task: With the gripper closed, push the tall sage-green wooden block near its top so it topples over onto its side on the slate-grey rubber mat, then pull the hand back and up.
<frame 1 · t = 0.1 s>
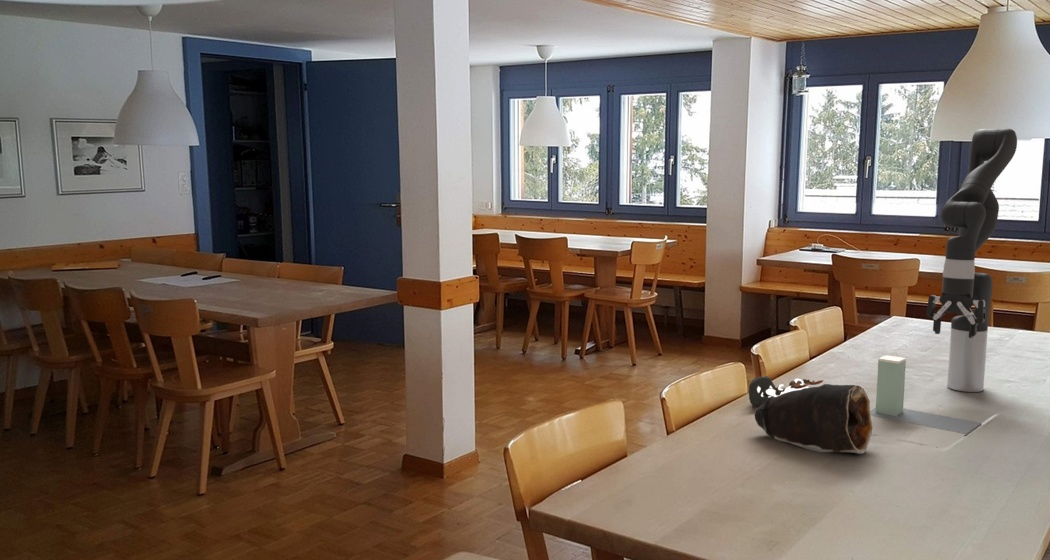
hand: (954, 335, 234), 17 cm above the table, tool pointing down, fingers open, 8 cm apart
figurine: (782, 410, 225), on the table
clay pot: (807, 444, 198), on the table
sage block: (889, 412, 220), point 1 cm above the table, touching slate mat
slate mat: (921, 420, 215), on the table
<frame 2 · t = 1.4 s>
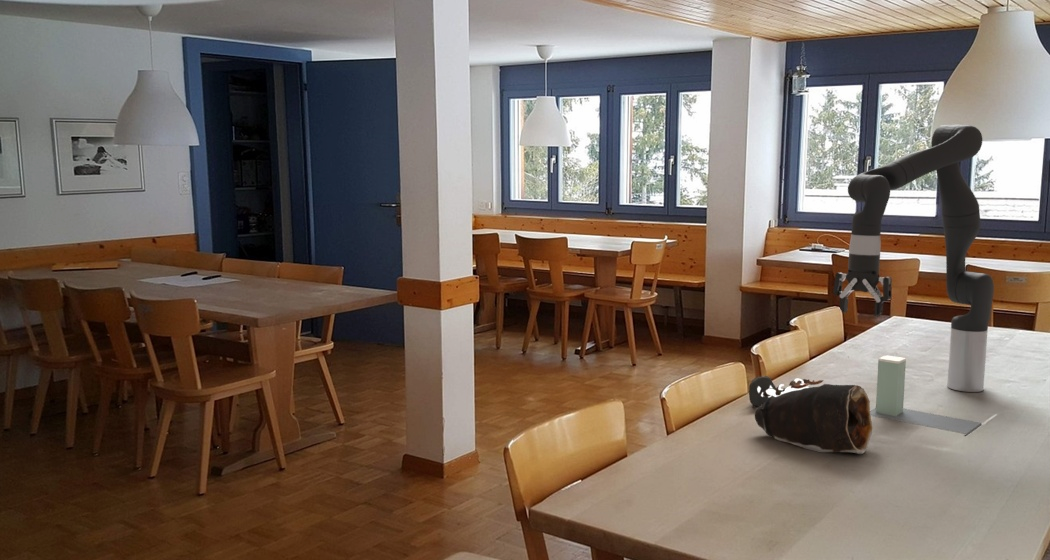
hand: (860, 314, 226), 24 cm above the table, tool pointing down, fingers open, 8 cm apart
nothing on the table moved.
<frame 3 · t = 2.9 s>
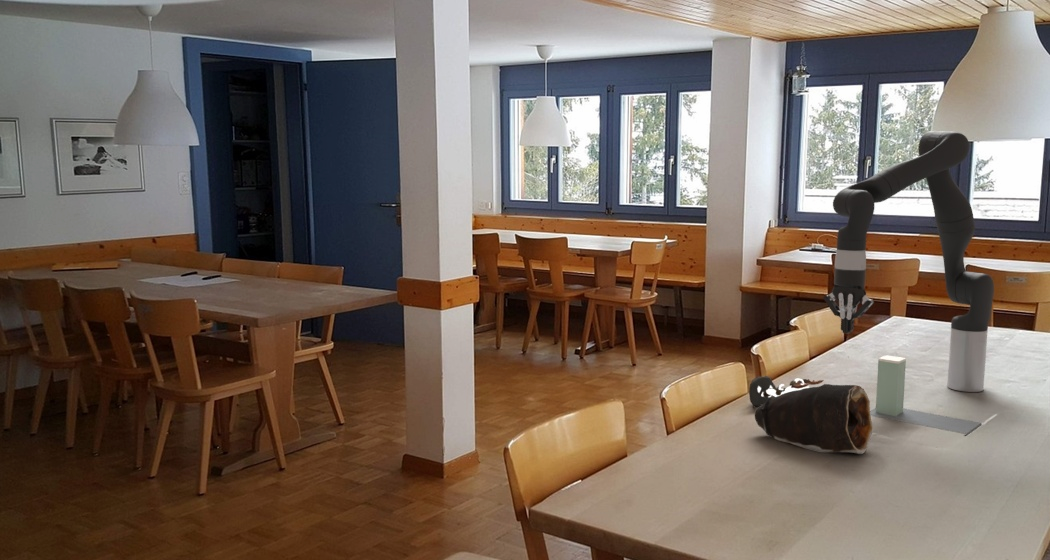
hand: (846, 332, 226), 20 cm above the table, tool pointing down, fingers closed
nothing on the table moved.
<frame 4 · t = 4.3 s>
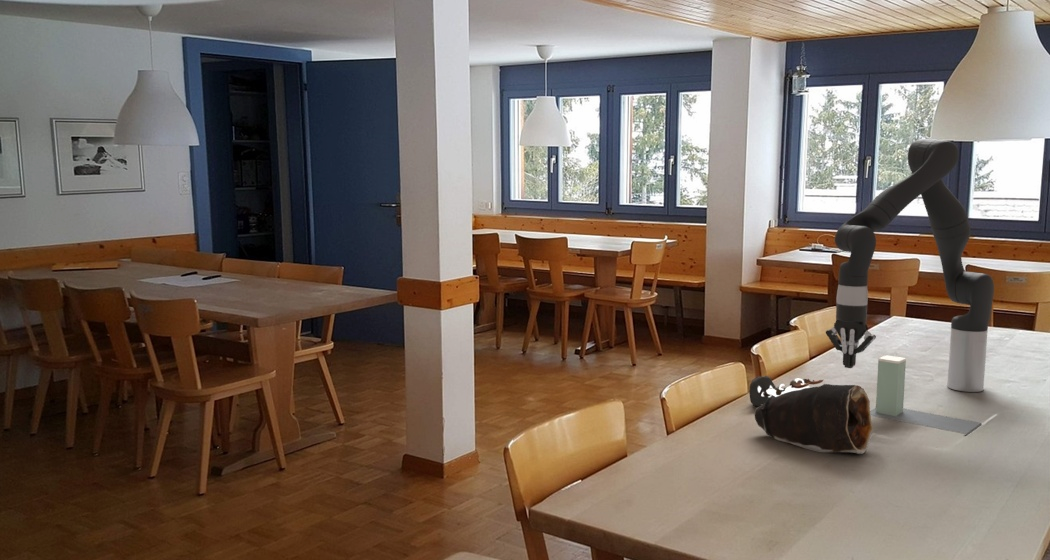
hand: (848, 367, 227), 10 cm above the table, tool pointing down, fingers closed
nothing on the table moved.
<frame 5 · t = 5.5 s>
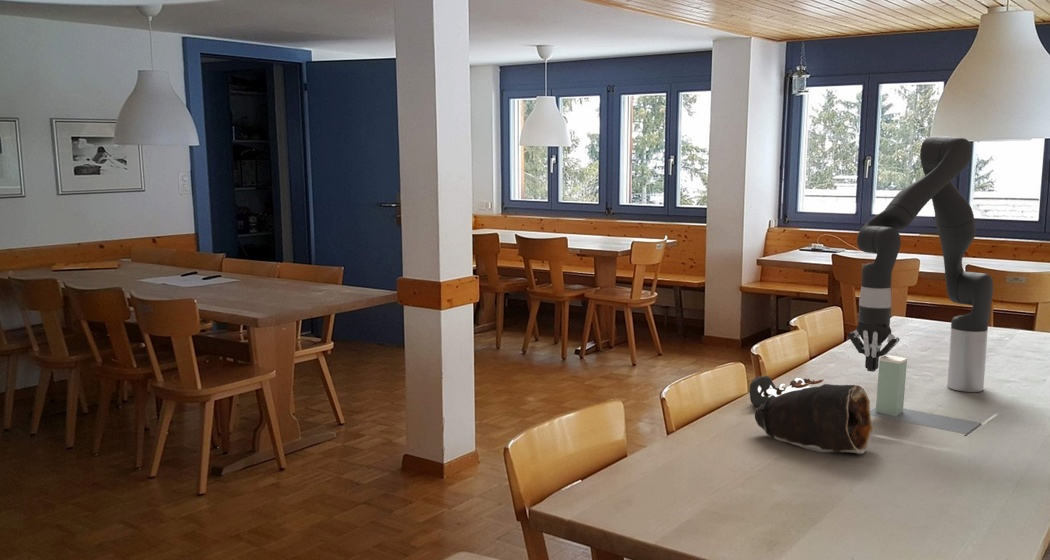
hand: (871, 370, 223), 11 cm above the table, tool pointing down, fingers closed
sage block: (889, 411, 220), point 1 cm above the table, touching gripper, slate mat
everything else where it was.
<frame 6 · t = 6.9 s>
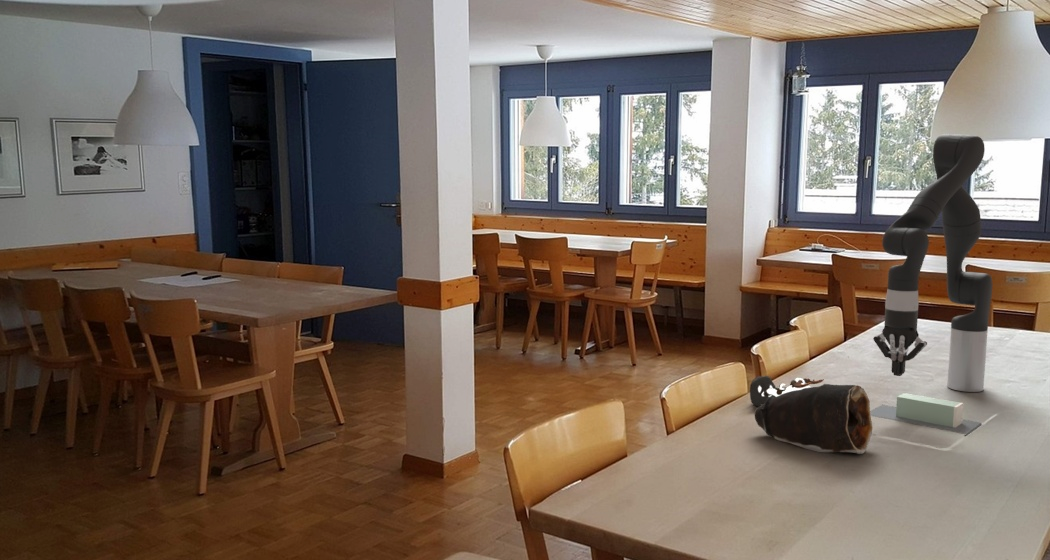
hand: (897, 375, 218), 10 cm above the table, tool pointing down, fingers closed
sage block: (900, 404, 218), point 3 cm above the table, tilted 90°, touching slate mat
everything else where it was.
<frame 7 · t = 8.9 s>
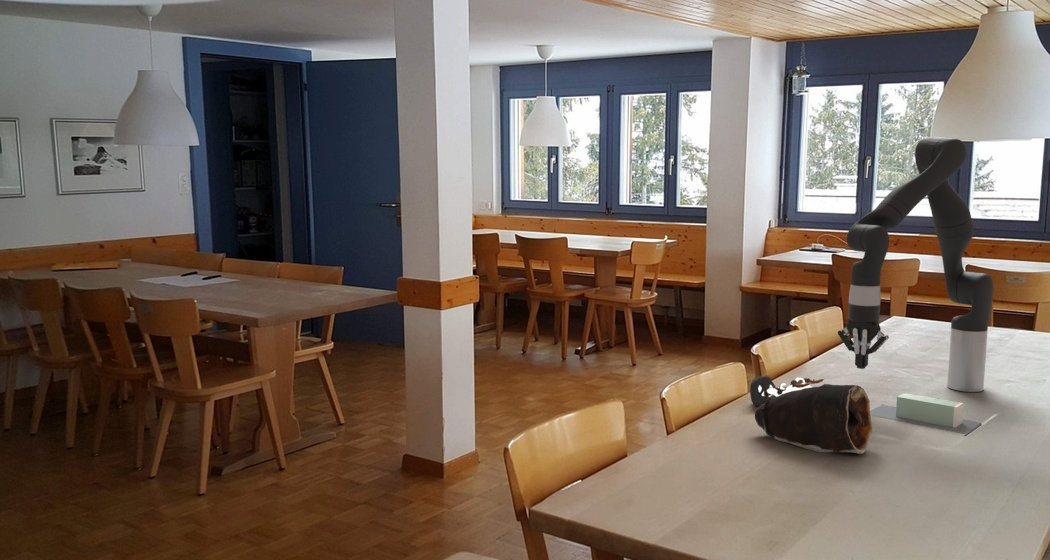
hand: (861, 368, 224), 11 cm above the table, tool pointing down, fingers closed
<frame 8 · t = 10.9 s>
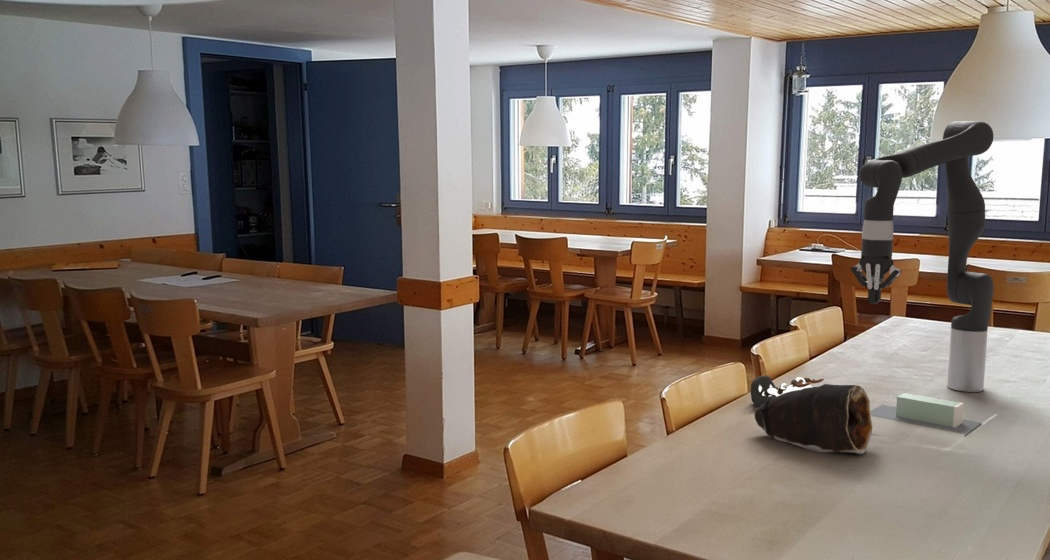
hand: (873, 303, 227), 27 cm above the table, tool pointing down, fingers closed
at the end: sage block tilted 90°; sage block inside the target area (0.9 cm from its centre), point 3.1 cm above the table; sage block touching slate mat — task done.
